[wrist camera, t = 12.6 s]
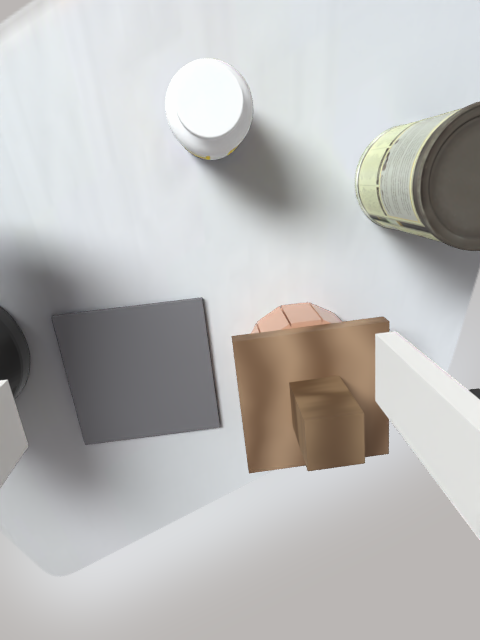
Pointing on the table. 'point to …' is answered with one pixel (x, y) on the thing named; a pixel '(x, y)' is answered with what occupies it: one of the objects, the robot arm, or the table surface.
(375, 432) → the walnut lid
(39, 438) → the table surface
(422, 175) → the coffee can
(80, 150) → the table surface
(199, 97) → the supplement bottle
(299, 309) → the terracotta bowl
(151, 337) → the rubber mat
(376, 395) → the robot arm
